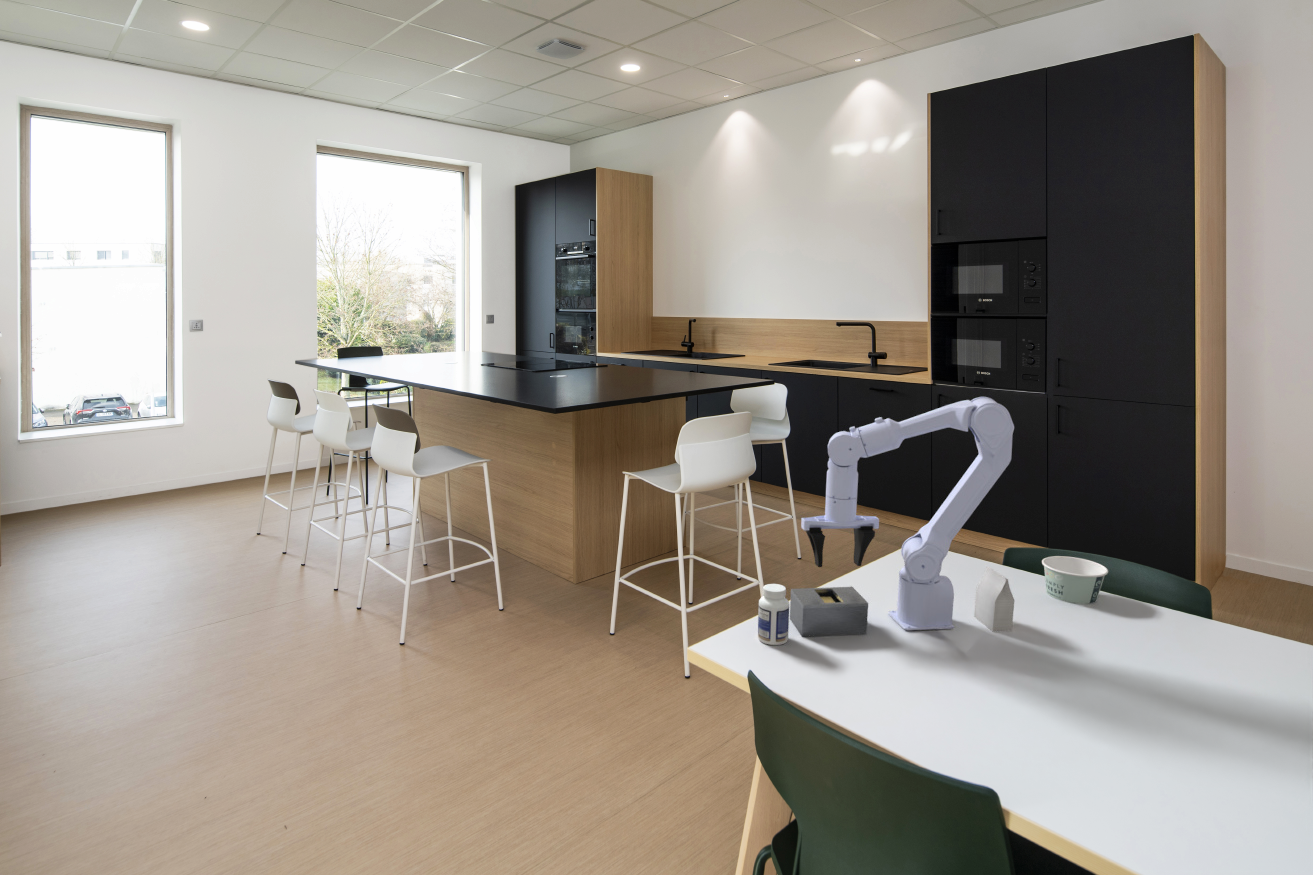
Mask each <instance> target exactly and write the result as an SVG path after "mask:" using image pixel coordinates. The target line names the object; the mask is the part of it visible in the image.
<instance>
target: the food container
mask: <svg viewBox="0 0 1313 875" xmlns="http://www.w3.org/2000/svg"><path fill="white" fill-rule="evenodd" d="M1041 564H1042V566H1043V568H1044V570H1043V571H1044V580H1045V590H1046V594H1047V595H1048V596H1049V597H1051V598H1053V599H1055V600H1058V601H1061V602H1065V603H1070V604H1077V605H1090V604H1094V603H1096V602H1097V600H1098V598H1099V596H1100V592H1101V589H1102V586H1103V582H1104V579H1105V576H1106V575H1108V573H1109V569H1108V568H1107V567H1106V566H1104V565H1103V564H1101V563H1098V562H1096V561H1093V560H1089V559H1086V558H1081V557H1073V556H1061V555H1055V556H1053V555H1052V556H1048V557H1045V558H1043V559H1042V560H1041Z"/></svg>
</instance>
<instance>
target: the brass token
mask: <svg viewBox="0 0 1313 875" xmlns="http://www.w3.org/2000/svg"><path fill="white" fill-rule="evenodd" d="M821 599H822V600H823V601H824V602H825V603H835V601H834V600H833V599H832V598H831V597H821Z"/></svg>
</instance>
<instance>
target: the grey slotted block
mask: <svg viewBox="0 0 1313 875" xmlns="http://www.w3.org/2000/svg"><path fill="white" fill-rule="evenodd" d="M821 597H831V598H832V599H833V600H834V601H835V603H825V602H824V601H823V600H822V599H821ZM868 613H869V602H868V601H867V599H865V598H864V597H863V596H862V595H861V594H860V593H859V592H858V591H857V590H856V589H855V588H854V587H853V586H837V587H835V586H831V587H808V588H806V587H805V588H790V602H789V620H790V621H791V623H792V624H793V626H794V627H795V628H796V631H797V632H798V633H799V634H800V636H801V637H802V638H806V637H809V638H811V637H832V636H857V635H858V636H859V635H860V636H861V635H867V632H868Z"/></svg>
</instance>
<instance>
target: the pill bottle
mask: <svg viewBox="0 0 1313 875" xmlns="http://www.w3.org/2000/svg"><path fill="white" fill-rule="evenodd" d="M786 595H787V589H786V586H785V585H782V584H778V583H768V584H765V585H763V587H762V596H761V597H760V599H758V611H757V612H758V614H757V616H758V617H757V638H758V640H759V641H760V642H761V643H763V644H766V645H771V646H779V645H783V644H786V643H787V641H788V640H789V625H790V624H789V622H790V621H789V620H790V602H789V600H788V598H786Z"/></svg>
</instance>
